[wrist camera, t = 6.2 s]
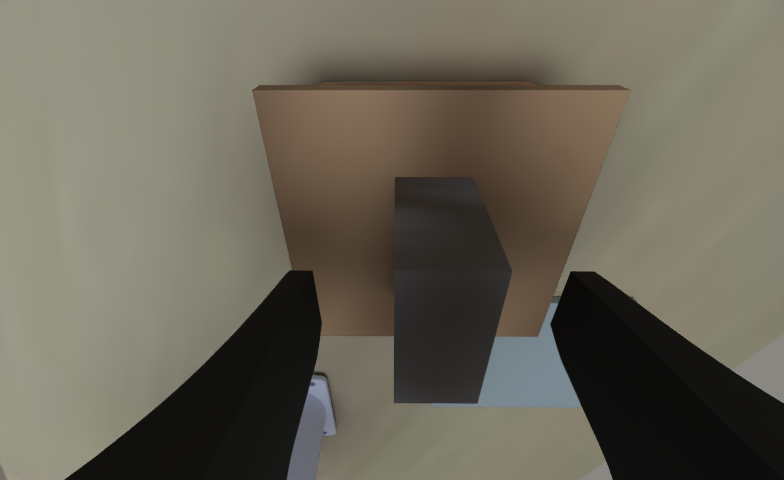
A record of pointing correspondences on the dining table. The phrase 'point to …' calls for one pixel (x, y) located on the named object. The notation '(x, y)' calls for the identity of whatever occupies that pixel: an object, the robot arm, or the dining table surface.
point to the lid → (435, 211)
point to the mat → (526, 372)
